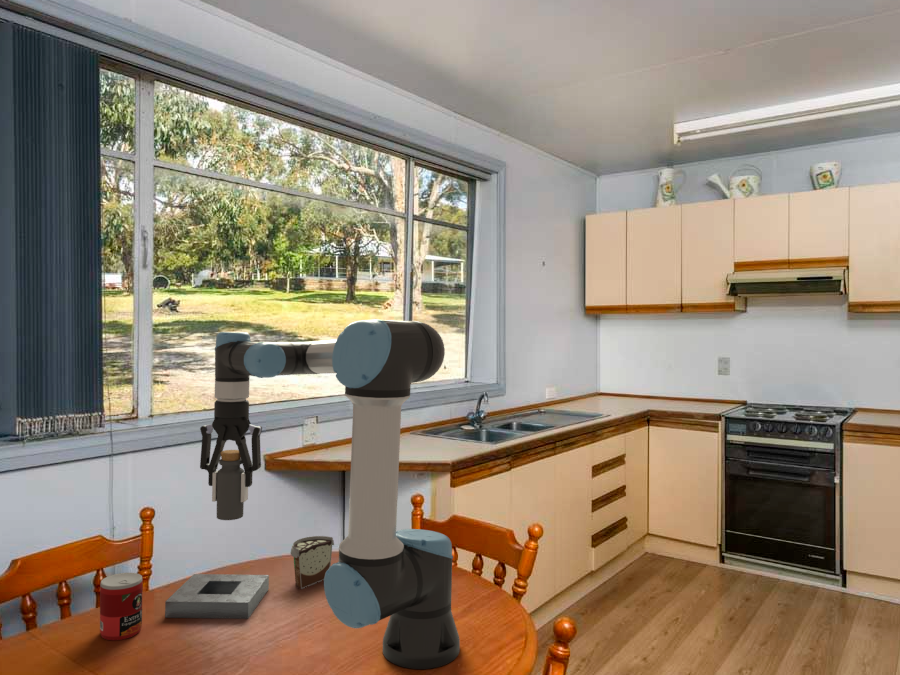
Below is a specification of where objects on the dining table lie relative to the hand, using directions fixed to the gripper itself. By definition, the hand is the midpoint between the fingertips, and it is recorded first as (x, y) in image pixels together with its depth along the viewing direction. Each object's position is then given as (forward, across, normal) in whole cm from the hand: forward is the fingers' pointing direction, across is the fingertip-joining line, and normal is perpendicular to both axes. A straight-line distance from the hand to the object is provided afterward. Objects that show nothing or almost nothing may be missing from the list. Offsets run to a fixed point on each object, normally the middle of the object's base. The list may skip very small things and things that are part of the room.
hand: (230, 500), depth 149 cm
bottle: (+4, 0, 0) cm, 4 cm away
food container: (+24, -15, -14) cm, 31 cm away
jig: (+24, +2, 0) cm, 24 cm away
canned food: (+24, +17, +16) cm, 33 cm away
